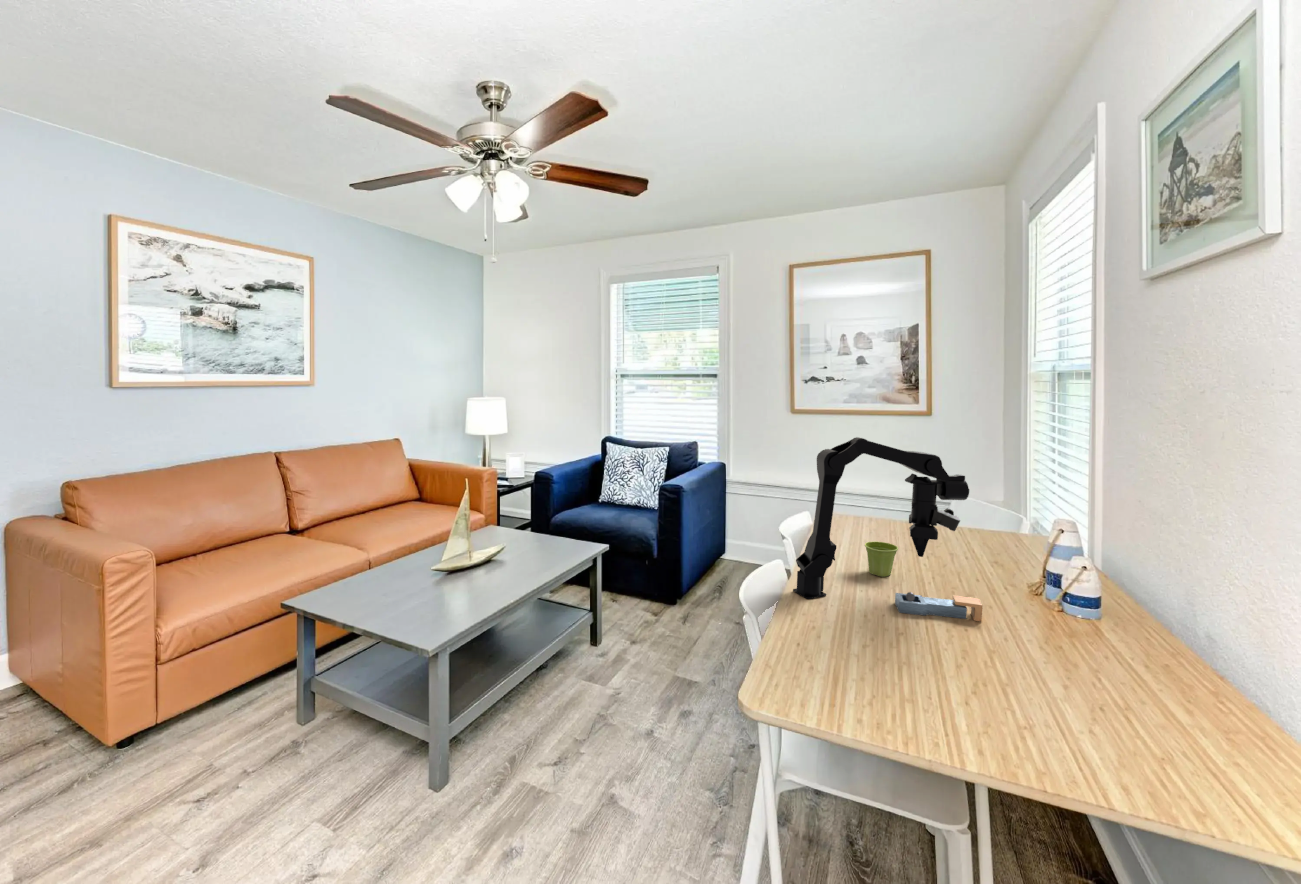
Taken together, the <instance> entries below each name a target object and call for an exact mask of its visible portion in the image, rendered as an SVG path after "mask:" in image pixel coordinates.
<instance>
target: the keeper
mask: <svg viewBox="0 0 1301 884" xmlns="http://www.w3.org/2000/svg"><path fill="white" fill-rule="evenodd" d="M952 600H954V603H955V605H961V606H966V607H969V608H970V607H971V608H970V609H971V610H970V615H971V616H972V619H973V621H975V622H976V621H977V622H983V621H982V619H983V607H984V605H983V604H982V601H981V599H980V598H975V597H970V596H969V597H968V596H961V595H954V594H952Z"/></svg>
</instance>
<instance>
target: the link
mask: <svg viewBox="0 0 1301 884" xmlns="http://www.w3.org/2000/svg"><path fill="white" fill-rule="evenodd" d="M894 594H895V595H894V604H895V607H896V609H897V611H898V613H899V614H908V615H916V616H927V615H928V616H929V615H931V616H937V617H939V616H940V617H946V618H956V619H964V620H967V611H968V608H967V607H968V606H961V605H955V603H954V600H953V599H947V598H937V597H930V596H929V597H928V596H923V595H919V594H914V596H915V599H914V602H911V601H906V594H907V593H903V592H902V593H901V592H895V593H894Z"/></svg>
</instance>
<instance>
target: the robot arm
mask: <svg viewBox="0 0 1301 884" xmlns="http://www.w3.org/2000/svg"><path fill="white" fill-rule="evenodd" d="M861 455H868V456H871V457H875V458H878V459H882V460H885V461H889V462H893V463H897V464H900V465H901V466H903V467H905V468H907V469H909V470H912V471H913V472H915V473H918V474H921V475H925V476H918V475H917V474H914V473H911V474H910V475H908V476H907V477H906V478H905V479H904V482H906V483H909V484H912V495H911V511H910V512H911V513H910V514H909V515H908V524H912V525H910V526H909V537H911V540H912V543H913V545H914V548H915V550H916V553H917V556H918V557H919V558H920V557H921V558H924V556H925V552H926V548H927V546H928V543H929V540H932V541H933V540H934V541H937V540H938V537H939V532H938V529H937V528H936V526H938V525H940V526H943V528H944V527H945V528H947V529H949V530H950V531H952V532H956V530H957V527H958V526H959V525H960V522H961V519H960V518H959V516H957V515H955V513H954V510H953V509H951V508H949V507H947V508H945V509H944V510H943V509H939V507H938V504H937V497H938V498H939V499H940V500H942V501H965V500H967V499H968V498H969V495H970V488H969V484H968V482H967V481H966V475H964V474H949V473H947V471H946V470H945V468H944V466H943V462H942V461H943V460H942V459H941V458H940V456H939V455H936V454H932V453H928V452H923V451H915V450H903V449H898V448H895V447H891V446H888V445H884V444H881V443H878V442H874V441H870V440H868V439H866V438H863V437H858V436H856V437H853V438H852V439H849V440H848V441H846V442H843V443H840V444H838V445H836V446H834V447H832V448H825V449H823V450H821V451H820V452H819V453H818V454H817V455H816V472H817V475H818V481H819V482H818V490H817V498H816V504H815V505H816V506H815V513H814V520H813V529H812V533H811V534H810V536H809V537H808V540H807V543H806V546H805V548H804V551H803V553H802V554H800V555H799V556H798V557H797V558H796V559H795V562H796V565H797V567H798V568H799V570H797V573H796V587H795V588H793V589H792V592H794V593H796V594H797V595H799V596H801V597H803V598H805V599H807V600H811V599H817V598H823V597H826V596H827V593H825V592H824V583H825V581H824V580H825V579H824V577H825V574H826V572H827V569H829V568H830V567H831V566H832V564H833V562H834V561H835V562H836V557H835V556H836V555H835V554H836V550H837V545H836V543H834V542H833V541H832V539H831V536H830V535H831V530H832V529H831V528H832V522H833V515H834V514H833V513H834V509H835V508H834V506H835V499H836V493H837V486H838V484H839V482H840V480H841V478H842V477H843V474H844V470H845V468H846V466H847V465H849V464H850V463H852V462H854V461H855V460H856V459H857V458H858V457H860V456H861ZM930 477H931V478H934V479H931V478H930Z"/></svg>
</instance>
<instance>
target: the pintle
mask: <svg viewBox="0 0 1301 884" xmlns="http://www.w3.org/2000/svg"><path fill="white" fill-rule="evenodd" d="M905 594H906V601H911V602H914V599H915V596H914V595H915V594H914V593H913V592H911V591H908V592H907V593H905Z"/></svg>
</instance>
